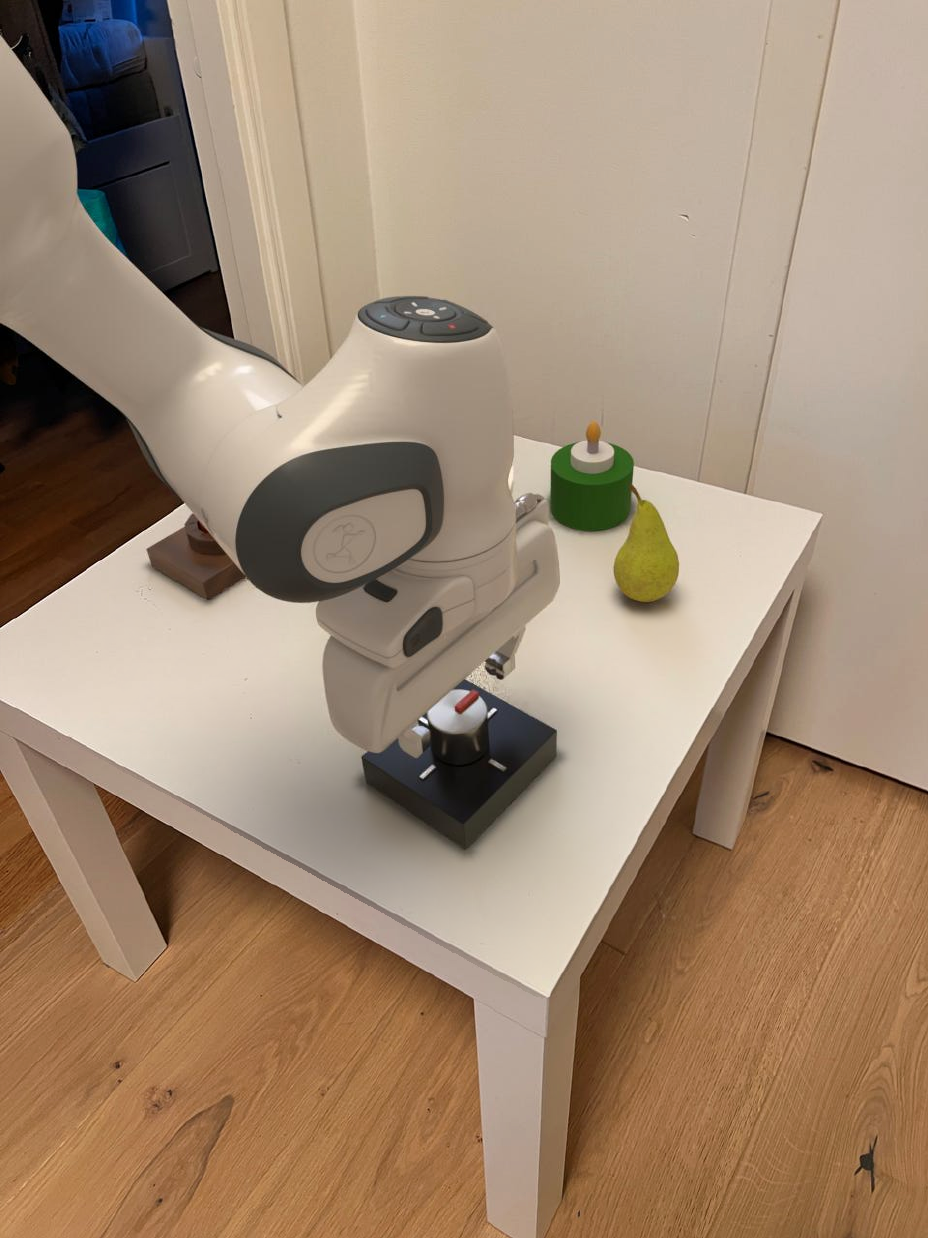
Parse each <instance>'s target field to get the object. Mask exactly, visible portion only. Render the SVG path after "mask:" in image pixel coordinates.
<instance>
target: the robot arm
mask: <svg viewBox="0 0 928 1238" xmlns="http://www.w3.org/2000/svg"><path fill="white" fill-rule="evenodd" d="M0 324H2V325H3V326H6V327H7V328H9V329H11V330H13V331H14V332H15V333H17V334H19V335H20V336H21V337H23V338H25V339H26V340H27V341H28V342H30V343H31V344H32V345H34V346H35V347H37V348H38V349H39V350H40V351H42V352H43V353H45V354H46V355H47V356H49V358H51V359H52V360H53V361H55V362H56V363H57V364H59V365H60V366H62V368H64V369H65V370H67V371H68V372H69V373H71V374H72V375H73V376H75V377H76V378H77V379H78V380H80V381H81V382H83V383H84V384H85V385H86V386H88V388H90V389H92V390H93V391H94V392H95V393H97V394H98V395H100V397H102V398H104V399H105V400H106V401H107V402H109V404H111V405H112V406H113V407H115V408H116V409H117V410H118V411H119V412H120V413H121V415H123V416H124V418H125V419H126V421H127V423H128V425H129V427H130V429H131V431H132V433H133V435H134V437H135V440H136V442H137V444H138V446H139V448H140V451H141V452H142V454H143V457H144V458H145V460H146V462H147V464H148V465H149V467H150V468H151V469H152V471H153V472H154V474H155V475H156V476H157V477H158V478H159V479H160V480H161V481H162V483H164V484H165V485H166V487H168V489H169V490H171V491H172V492H173V494H175V495H176V496H177V497H178V498H179V499H180V500H181V501H182V502H183V503H184V504H185V506H186V507H187V508H188V509H189V510H190V511H191V514H192V513H193V514H194V515H195V516H196V517H197V519H198V520H199V521H200V522H201V523H202V525H203V526H204V527H205V528H206V529H207V531H208V532H209V533H210V534H211V535H212V537H213V538H214V539H215V540H216V542H217V543H218V544H219V545H220V546H221V548H222V549H223V550H224V551H225V552H226V554H227V555H228V556H229V557H230V558H231V560H232V561H233V562H234V563H235V564H236V565H237V567H238V568H239V569H240V570H241V571H242V572H243V573H244V575H245V577H246V579H247V580H248V581H249V582H250V583H251V584H252V585H253V586H254V587H255V588H256V589H257V590H259V591H260V592H262V593H264V594H265V595H267V596H269V597H271V598H273V599H275V600H280V601H282V602H288V603H294V604H310V603H311V604H312V603H317V604H316V606H315V619H316V622H317V624H318V626H319V627H320V628H321V629H322V630H323V631H324V632H326V633H327V634H328V635H329V637H328V639H327V642H326V643H325V647H324V650H323V654H322V667H321V668H322V679H323V688H324V695H325V701H326V706H327V709H328V715H329V719H330V723H331V724H332V727H333V729H334V730H335V731H336V733H338V734H339V735H340V736H341V737H343V738H344V739H345V740H347V741H348V742H350V743H351V744H352V745H355V746H356V747H357V748H359V749H361V750H363V751H366V752H367V751H369V752H373V753H380V752H382V751H384V750H385V749H386V748H387V747H388V746H389V745H390V744H391V743H393V742H394V741H395V740H396V739H397V738H398V740H399V745H400V747H401V748H402V750H403V751H405V752H406V753H408V754H409V755H411V756H413V757H414V758H418V757H419V756H420V755H421V754H422V753H423V752H424V751H425V750H426V749H427V748H428V747H429V746H430V745H431V744H432V741H430V738H431V733H430V730H429V729H427V728H425V727H424V726H419V724H418V720H419V719H420V718H421V717H422V716H423V715H424V714H425V713H427V712H428V711H429V710H430V709H431V708H432V707H433V706H435V705H436V704H437V703H438V702H439V701H440V700H441V699H442V698H444V697H445V696H446V695H447V694H448V693H449V692H450V691H452V690H453V689H454V688H455V687H456V686H457V685H458V684H459V683H461V682H462V681H463V680H464V679H466V678H467V677H469V676H470V675H472V673H473V672H474V671H476V670H477V669H478V668H479V667H480V666H482V664H483V663H485V665H484V669H485V671H486V672H487V674H488V675H490V676H492V677H495V678H496V679H497V680H499V681H503V680H504V679H505V678H506V677H508V676H509V675H510V674H511V673H512V672H513V671H514V670H515V669H516V654H517V652H518V650H519V647H520V645H521V642H522V640H523V637H524V634H525V632H526V626H527V624H529V623H530V622H531V621H532V620H533V619H534V618H536V617H537V616H538V615H539V614H540V613H542V611H543V610H545V609H546V607H548V606H549V605H551V603H553V601H554V600H555V598H556V596H557V593H558V591H559V589H560V588H559V587H560V585H561V573H560V572H561V571H560V559H559V552H558V545H557V540H556V536H555V532H554V531H553V528H552V527H550V526H549V521H550V519H549V516H550V515H549V511H550V509H549V507H550V506H549V502H548V501H547V500H546V499H545V497H544V496H543V495H541V494H539V493H535V494H534V493H532V492H527V493H525V494H523V495H521V496H520V497H518V498H517V499H516V500H515V501H514V497H513V493H512V494H511V492H510V490H509V485H508V478H509V473H510V470H511V466H512V464H514V457H515V433H514V432H515V430H514V429H515V428H514V409H513V399H512V389H511V382H510V376H509V375H510V373H509V370H508V369H509V368H508V365H507V360H506V355H505V352H504V348H503V343H502V341H501V339H500V336H499V335H498V331H497V330H496V328H495V327H494V326H493V325H492V324H490V323H489V322H488V320H487V319H485V318H484V317H482V316H480V315H479V314H478V313H475V312H474V311H472V310H470V309H468V308H466V307H464V306H462V305H460V304H457V303H455V302H452V301H451V300H448V299H440V298H434V297H430V296H429V297H428V296H423V295H398V296H396V295H395V296H389V297H384V298H380V299H378V300H375V301H373V302H369V303H367V304H366V305H364V306H362V307H361V308H359V309H358V310H357V312H356V314H355V315H354V317H353V321H352V324H351V327H350V329H349V332H348V334H347V336H346V338H345V339H344V341H343V342H342V344H340V346H339V348H338V349H337V350H336V352H335V353H334V354H333V355H332V356H331V358H330V359H329V360H328V362H327V363H326V364H325V365H324V366H323V367H322V368H321V369H320V371H318V372H317V373H316V374H315V376H313V378H311V379H310V380H309V381H308V382H307V383H306V384H305V385H302V384H301V383H300V381H299V380H297V379H296V377H295V376H294V375H292V373H290V371H289V370H288V369H287V368H286V367H285V366H284V365H283V364H281V362H279V361H278V359H276V358H275V357H273V356H272V355H270V354H269V353H268V352H266V351H265V350H263V349H260V348H258V347H256V346H254V345H252V344H250V343H247V342H245V341H241V340H238V339H235V338H232V337H229V336H226V335H223V334H220V333H217V332H215V331H213V330H210V329H206V328H204V327H202V326H200V325H198V323H196V322H195V321H193V320H192V319H191V318H190V317H188V316H187V315H186V314H185V313H184V312H183V311H182V310H181V309H180V308H179V307H178V306H176V304H175V303H174V302H172V300H170V299H169V298H168V297H167V296H166V295H165V294H164V293H163V292H162V291H161V290H160V289H159V288H158V287H157V286H156V284H154V283H153V282H152V281H151V280H150V279H149V278H148V277H147V276H146V275H145V273H143V272H142V271H140V269H139V268H138V267H137V266H136V265H135V264H134V263H132V261H130V260H129V258H128V257H126V256H125V255H124V253H123V252H121V250H120V249H118V248H117V247H116V246H115V245H114V243H112V242H111V241H110V240H109V239H108V237H106V235H105V234H104V233H103V232H102V231H101V229H99V227H98V226H97V225H96V223H95V222H94V221H93V219H92V218H91V217H90V215H89V214H88V212H87V210H86V209H85V207H84V206H83V204H82V202H81V200H80V197H79V195H78V165H77V157H76V152H75V148H74V144H73V140H72V136H71V133H70V131H69V130H68V128H67V126H66V124H65V123H64V122H63V121H62V119H61V117H60V116H59V115H58V113H57V112H56V110H55V108H54V107H53V106H52V104H51V103H50V101H49V99H48V98H47V97H46V95H45V93H43V91H42V90H41V88H40V87H39V86H38V84H37V82H36V81H35V80H34V78H33V77H32V76H31V73H29V71H28V70H27V69H26V67H25V66H24V65H23V63H22V61H21V60H20V59H19V58H18V56H17V54H16V53H15V52H14V51H13V49H12V48H11V47H10V46H9V44H8V43H7V42H6V40H5V39H4V37H3V36H2V35H1V34H0Z"/></svg>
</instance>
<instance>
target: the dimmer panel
mask: <svg viewBox="0 0 928 1238" xmlns="http://www.w3.org/2000/svg"><path fill="white" fill-rule="evenodd" d="M458 689H460V690H468V691H472V690H475V691H477V692H478V693H479V696H480V697H481V698H482V699H483V700H484V701H485V703H486V705H487V711H488V731H489V746H488V749H487V751H486V752H485V754H484V755H483V756H482V757H481V758H479V759H478V760H476V761H474V762H472V763H469V764H465V765H452V764H447V763H445V762H443V761H441V760H439V759H438V758H437V757H436V756H435V755H434V754H433V752H432V750H431V746H429V747H428V748H427V749H426V750H425V751H424V752H423V753H422V754H421V755H420V756H419V757H418V758H414V757H413V756H411V755H409V754H408V753H406V752H405V751H403V750H402V748H401V747H400V745H399V740H398V738H397V739H396V740H395V741H394V742H393V743H391V744H390V745H389V746H388V747H387V748H386V749H385V750H384V751H382V752H380V753H373V752H369V751H366V752H365V753H364V754H362V755H361V757H360V759H361V766H362V769H363V775H364V779H365V783H366V784H367V785H369V786H370V787H372V788H373V789H374V790H375V791H377V792H379V793H380V794H382V795H383V796H385V797H386V798H388V799H390V801H393V802H394V803H396V804H397V805H398V806H400V807H401V808H403V809H405V811H407V812H409V813H410V814H412V815H413V816H415V817H416V818H417V819H419V820H420V821H422V822H423V823H424V824H426V825H427V826H429V827H431V828H433V829H434V830H435V831H437V832H438V833H440V834H441V835H443V836H444V837H446V838H447V839H448V840H450V841H452V842H453V843H454V844H456V845H457V846H459V847H460V848H462V849H463V850H465V851H466V850H468V848H469V847H470V846H472V844H473V843H474V842H475V841H476V840H477V839H478V838H479V837H480V836H481V835H482V834H483V833H484V832H485V831H486V830H487V829H488V828H489V827H490V825H492V824H493V823H494V821H496V819H498V817H500V816H501V814H503V812H504V811H505V810H506V809H507V808H508V807H509V806H510V805H511V804H512V803H513V802H514V801H515V800H516V799H517V798H518V797H519V796H520V794H522V793H523V792H524V790H525V789H526V788H528V786H529V785H530V784H531V783H532V782H533V781H534V780H535V779H536V778H537V777H538V776H539V775H540V774H541V773H542V772H543V771H544V770H545V769H546V767H548V766H549V765H550V763H551V762H553V760H555V758H556V757H557V754H558V753H557V751H558V749H557V747H558V746H557V745H558V729H556V728H554V727H552V726H550V725H549V724H547V723H545V722H543V721H541V720H539V719H538V718H536V717H535V716H533V715H531V714H529V713H527V712H525V711H523V710H522V709H519V708H518V707H516V706H514V705H513V704H511V703H509V702H507V701H506V700H503V699H502V698H500V697H499V696H497V695H494V694H493V693H491V692H489V691H488V690H485V689H484V688H482V687H480V686H478V685H477V684H474V683H473V682H471V681H469V679H466V678H465V679H464V680H463V681H462V682H461V683H459V684H458V685H457V686H456V687H455V688H454V689H453V690H458ZM418 724H419V726H424V727H425V728H427V729H428V720H427V713H425V714H424V715H423V716H422V717H421V718H420V719H419V720H418Z"/></svg>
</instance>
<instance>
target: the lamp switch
mask: <svg viewBox="0 0 928 1238" xmlns="http://www.w3.org/2000/svg"><path fill="white" fill-rule="evenodd" d="M145 549H146V553H147V555H148V558H149V562H150V564H151V567H153V568H154V569H156V570H157V571H158V572H160V573H163V574H164V575H166V576H167V577H169V578H170V579H172V580H174V581H175V582H177V583H179V584H180V585H181V586H183V587H185V588H187V589H188V590H190V591H192V592H193V593H194V594H197V595H198V596H200V597H202V598H203V599H205V600H206V601H210V600H211V599H213V598H214V597H216V596H218V595H219V594H221V593H222V592H223V591H226V590H227V589H228V588H230V587H231V586H233V585H235V584H236V583H237V582H240V580H242V579H243V578H245V577H246V576H245V575H244V573H243V572H242V571H241V570H240V569H239V568H238V567H237V565H236V564H235V563H234V562H233V561H232V560H231V558H230V557H229V556H228V555H227V554H226V552H225V551H224V550H223V549H222V548H221V546H220V545H219V544H218V543H217V542H216V540H215V539H214V538H213V537H212V535H211V534H210V533H205V532H203V531H202V529H201V526H200V523H199V520H198V519H197V517H196V516H195V515H194V514H193V513H192V512H191V514H190V515H189V517H188V518H187V520H186V521H185V523H184V526H183V527H181V528H179V529H178V530H176V531H174V532H173V533H170V534H169V535H167V536H166V537H164V538H162V539H160V540H159V541H157V542H156V543H153V544H152V545H150V546H148V547H147V548H145Z"/></svg>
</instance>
